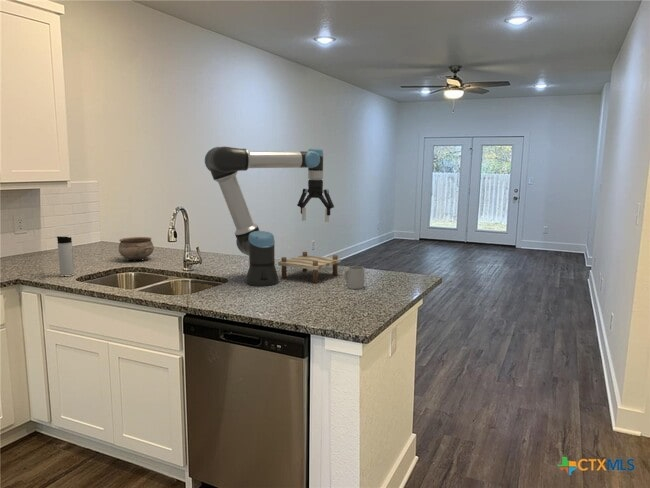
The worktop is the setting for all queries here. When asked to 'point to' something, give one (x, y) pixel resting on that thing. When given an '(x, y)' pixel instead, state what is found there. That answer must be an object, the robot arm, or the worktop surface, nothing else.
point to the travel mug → (65, 255)
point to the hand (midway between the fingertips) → (315, 221)
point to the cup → (354, 277)
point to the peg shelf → (309, 264)
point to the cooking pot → (136, 247)
